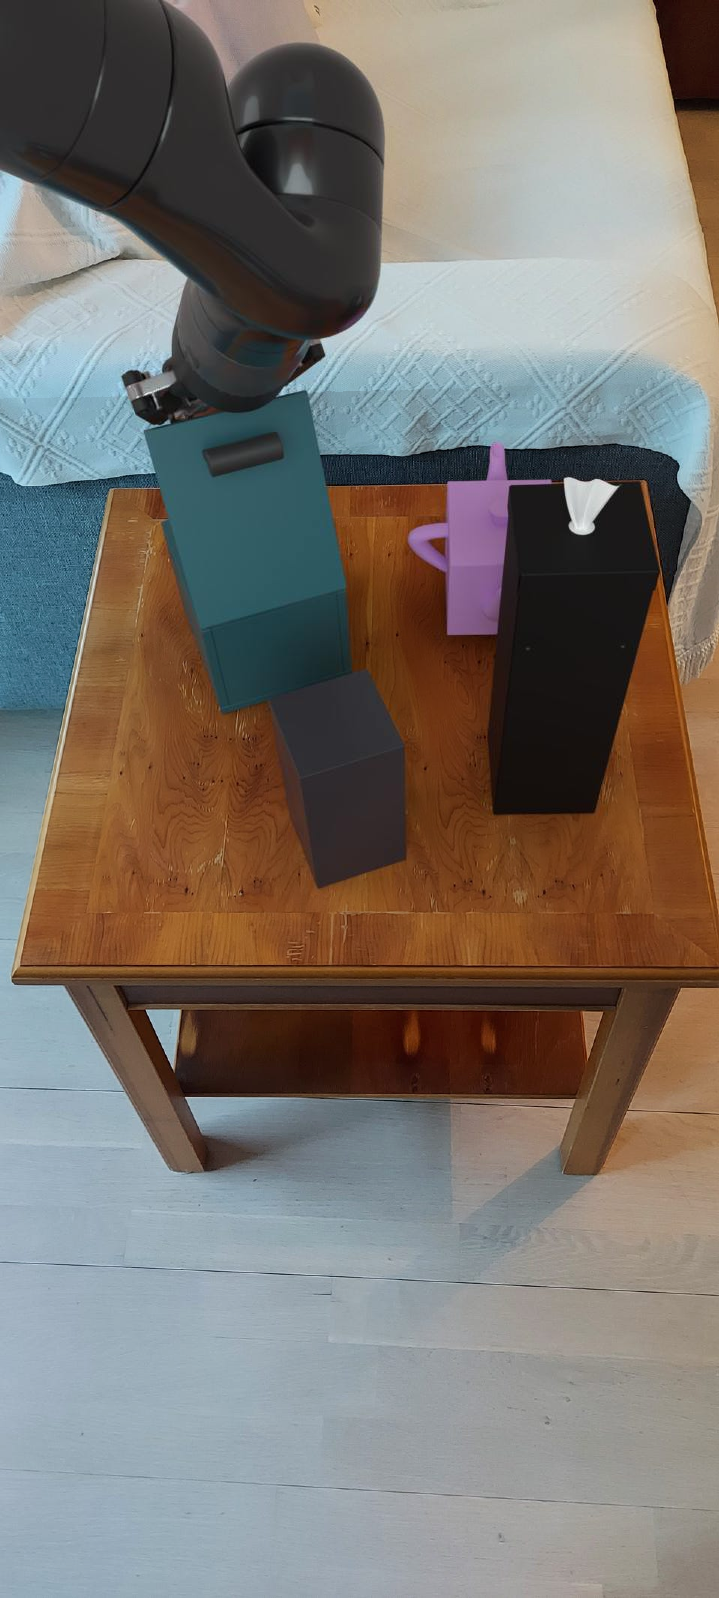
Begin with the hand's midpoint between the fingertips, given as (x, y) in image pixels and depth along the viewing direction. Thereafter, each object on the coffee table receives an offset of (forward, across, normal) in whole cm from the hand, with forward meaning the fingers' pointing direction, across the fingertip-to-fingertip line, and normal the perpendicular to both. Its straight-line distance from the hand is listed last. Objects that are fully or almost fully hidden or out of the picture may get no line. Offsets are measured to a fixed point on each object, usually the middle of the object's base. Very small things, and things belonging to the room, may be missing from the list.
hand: (208, 403), depth 74 cm
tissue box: (-6, -14, +35) cm, 38 cm away
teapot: (+7, -20, +22) cm, 30 cm away
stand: (-5, +2, +34) cm, 34 cm away
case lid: (-4, +1, +9) cm, 9 cm away
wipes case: (+10, 0, +18) cm, 21 cm away
